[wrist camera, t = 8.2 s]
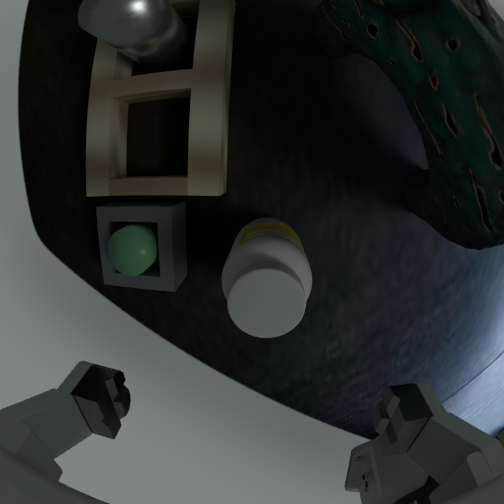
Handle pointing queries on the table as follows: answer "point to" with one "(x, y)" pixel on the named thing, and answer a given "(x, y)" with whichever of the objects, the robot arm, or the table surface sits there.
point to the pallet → (157, 88)
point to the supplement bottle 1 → (266, 278)
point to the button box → (169, 242)
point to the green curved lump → (438, 100)
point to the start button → (134, 248)
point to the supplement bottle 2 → (501, 438)
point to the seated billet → (140, 31)
